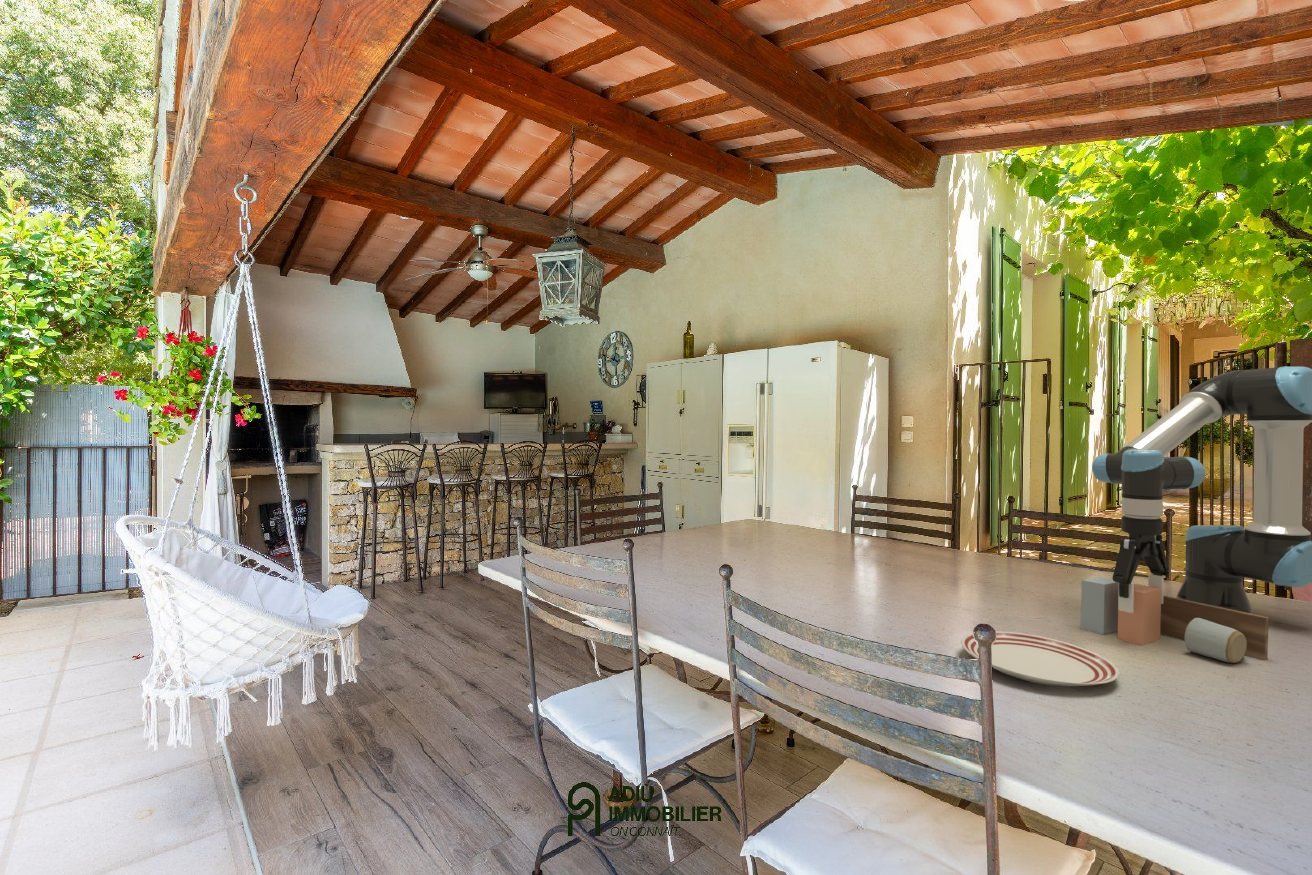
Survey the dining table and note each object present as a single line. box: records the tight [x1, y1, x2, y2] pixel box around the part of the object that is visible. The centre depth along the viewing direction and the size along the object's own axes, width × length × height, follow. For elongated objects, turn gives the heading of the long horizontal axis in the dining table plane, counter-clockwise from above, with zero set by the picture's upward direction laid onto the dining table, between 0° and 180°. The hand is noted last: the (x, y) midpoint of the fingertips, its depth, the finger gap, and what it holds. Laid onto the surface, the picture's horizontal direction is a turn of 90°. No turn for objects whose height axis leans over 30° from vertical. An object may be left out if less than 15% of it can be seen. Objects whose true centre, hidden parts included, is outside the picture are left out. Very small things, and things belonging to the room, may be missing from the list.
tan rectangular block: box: [1117, 583, 1161, 646], centre depth 143 cm, size 8×5×12 cm, turn 118°
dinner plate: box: [960, 630, 1120, 687], centre depth 126 cm, size 28×27×3 cm
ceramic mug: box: [1184, 618, 1247, 664], centre depth 132 cm, size 11×8×8 cm
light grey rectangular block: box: [1080, 575, 1118, 636], centre depth 150 cm, size 8×5×12 cm, turn 118°
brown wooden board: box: [1160, 594, 1270, 661], centre depth 145 cm, size 1×32×9 cm, turn 28°
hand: (1141, 606), depth 143 cm, fingers open, 13 cm apart
